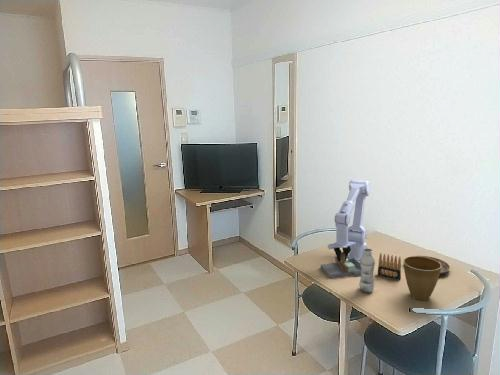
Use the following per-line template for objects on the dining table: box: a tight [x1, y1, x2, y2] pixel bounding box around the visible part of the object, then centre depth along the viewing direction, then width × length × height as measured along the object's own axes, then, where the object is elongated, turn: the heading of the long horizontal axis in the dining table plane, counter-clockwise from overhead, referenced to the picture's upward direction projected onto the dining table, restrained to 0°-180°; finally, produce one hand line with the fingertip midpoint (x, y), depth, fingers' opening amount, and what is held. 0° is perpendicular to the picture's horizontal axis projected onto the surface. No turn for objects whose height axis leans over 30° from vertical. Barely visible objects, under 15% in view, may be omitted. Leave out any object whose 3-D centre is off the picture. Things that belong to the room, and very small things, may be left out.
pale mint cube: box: [345, 262, 355, 272], centre depth 176 cm, size 4×4×3 cm
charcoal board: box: [320, 262, 354, 279], centre depth 179 cm, size 12×12×2 cm
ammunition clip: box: [376, 252, 402, 281], centre depth 170 cm, size 11×2×12 cm, turn 56°
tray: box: [347, 257, 361, 277], centre depth 180 cm, size 6×14×4 cm, turn 11°
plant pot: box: [403, 255, 442, 301], centre depth 152 cm, size 15×15×16 cm
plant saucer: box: [421, 255, 451, 276], centre depth 178 cm, size 21×21×3 cm
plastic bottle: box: [358, 248, 376, 293], centre depth 158 cm, size 6×7×20 cm
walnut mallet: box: [334, 251, 348, 273], centre depth 178 cm, size 2×13×8 cm, turn 11°
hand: (341, 260), depth 178 cm, fingers open, 3 cm apart
